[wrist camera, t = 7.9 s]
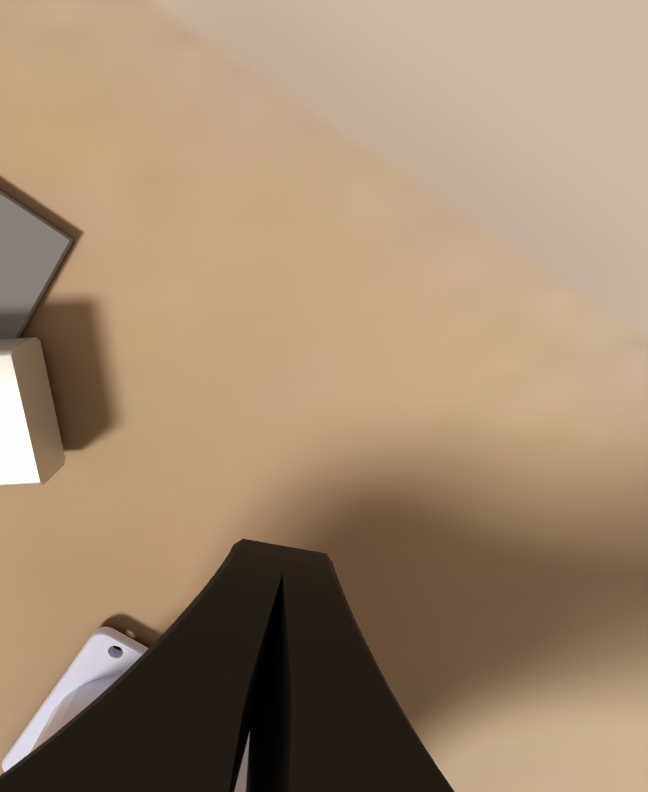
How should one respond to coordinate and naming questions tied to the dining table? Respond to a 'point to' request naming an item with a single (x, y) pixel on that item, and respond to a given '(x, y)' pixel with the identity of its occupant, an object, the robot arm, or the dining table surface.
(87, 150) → the dining table surface
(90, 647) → the robot arm
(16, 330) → the mat
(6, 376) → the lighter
